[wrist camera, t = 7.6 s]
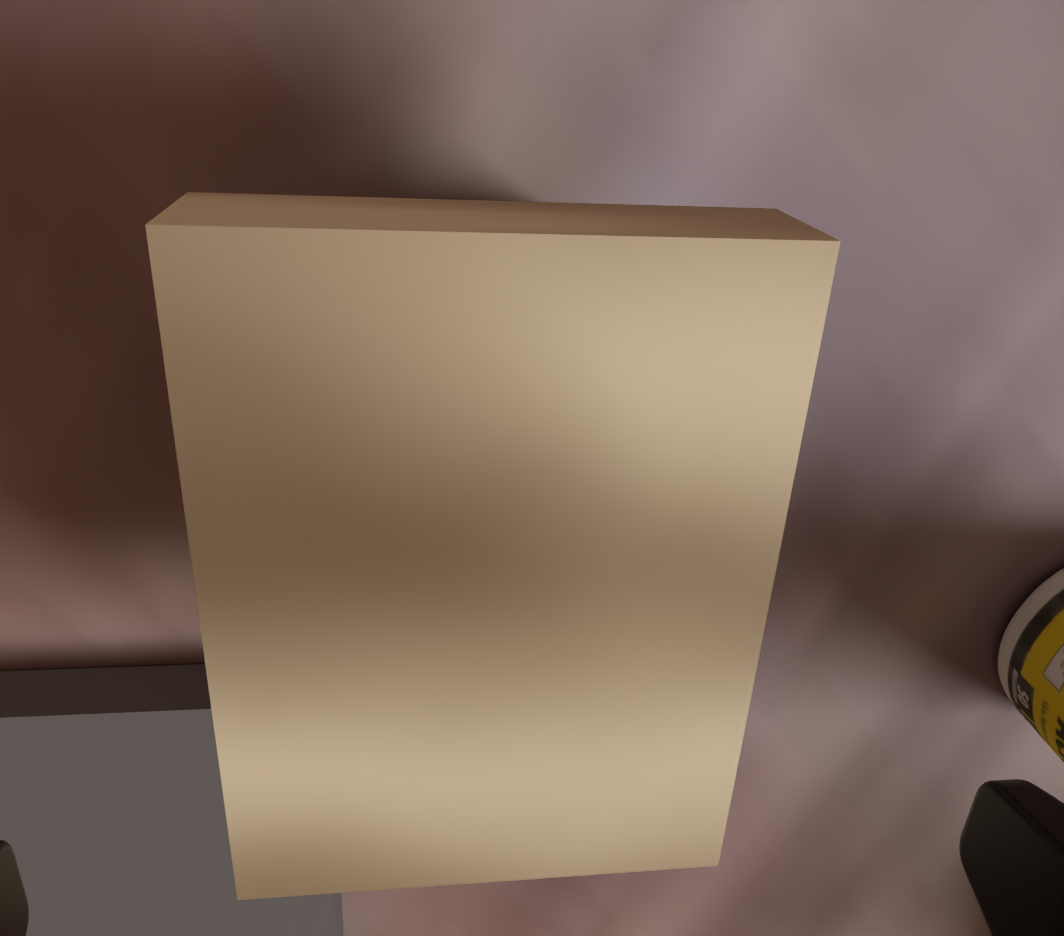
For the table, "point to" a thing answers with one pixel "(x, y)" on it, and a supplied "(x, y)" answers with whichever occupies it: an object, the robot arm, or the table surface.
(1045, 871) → the robot arm
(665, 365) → the cover board
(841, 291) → the table surface
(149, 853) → the mat
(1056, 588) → the supplement bottle
